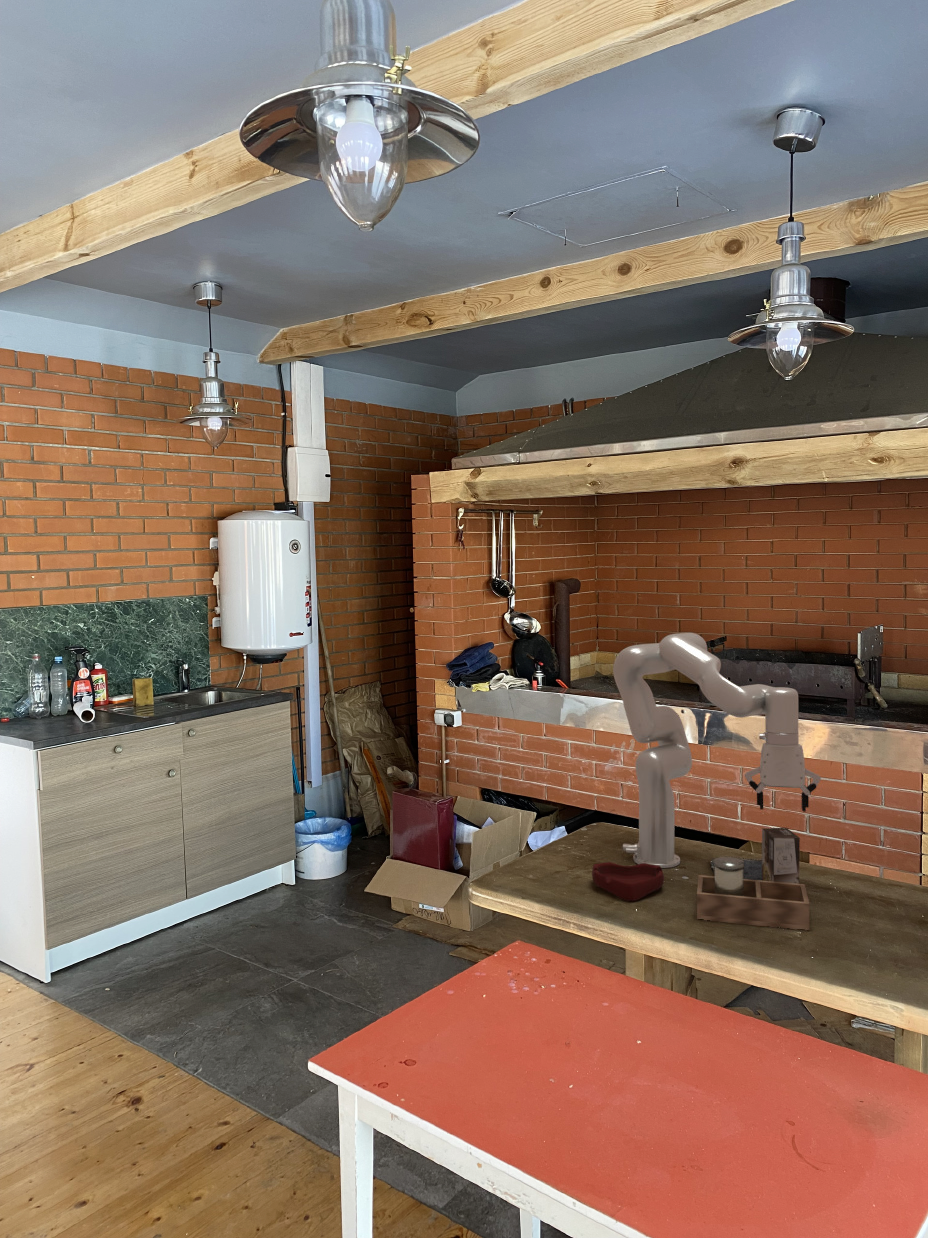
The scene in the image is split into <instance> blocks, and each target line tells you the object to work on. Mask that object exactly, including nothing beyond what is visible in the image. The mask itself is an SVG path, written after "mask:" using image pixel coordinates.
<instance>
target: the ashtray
mask: <svg viewBox="0 0 928 1238" xmlns="http://www.w3.org/2000/svg"><path fill="white" fill-rule="evenodd" d="M591 870H592V871H591V877H592V883H594V885H595V886H597V887H598V888H600V889H602V890H604V891H606V892H608V893H610V894H612V895H614V896H616V897H617V898H620V899H621V900H624V901H626V900H627V902H635V901H638V900H640V899H642V898H644V897H646V896H647V895H649V894H651V893H653V892H656V891H658V890H659V889H660V888H662V887H663V885H664V882H665V875H664V871H663V868H661V867H660V866H659V865H651V864H647V863H642V864H635V865H620V864H618V863H614V862H610V861H607V862H601V863H600V862H598V863H594V864H593V865H592V869H591Z"/></svg>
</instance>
